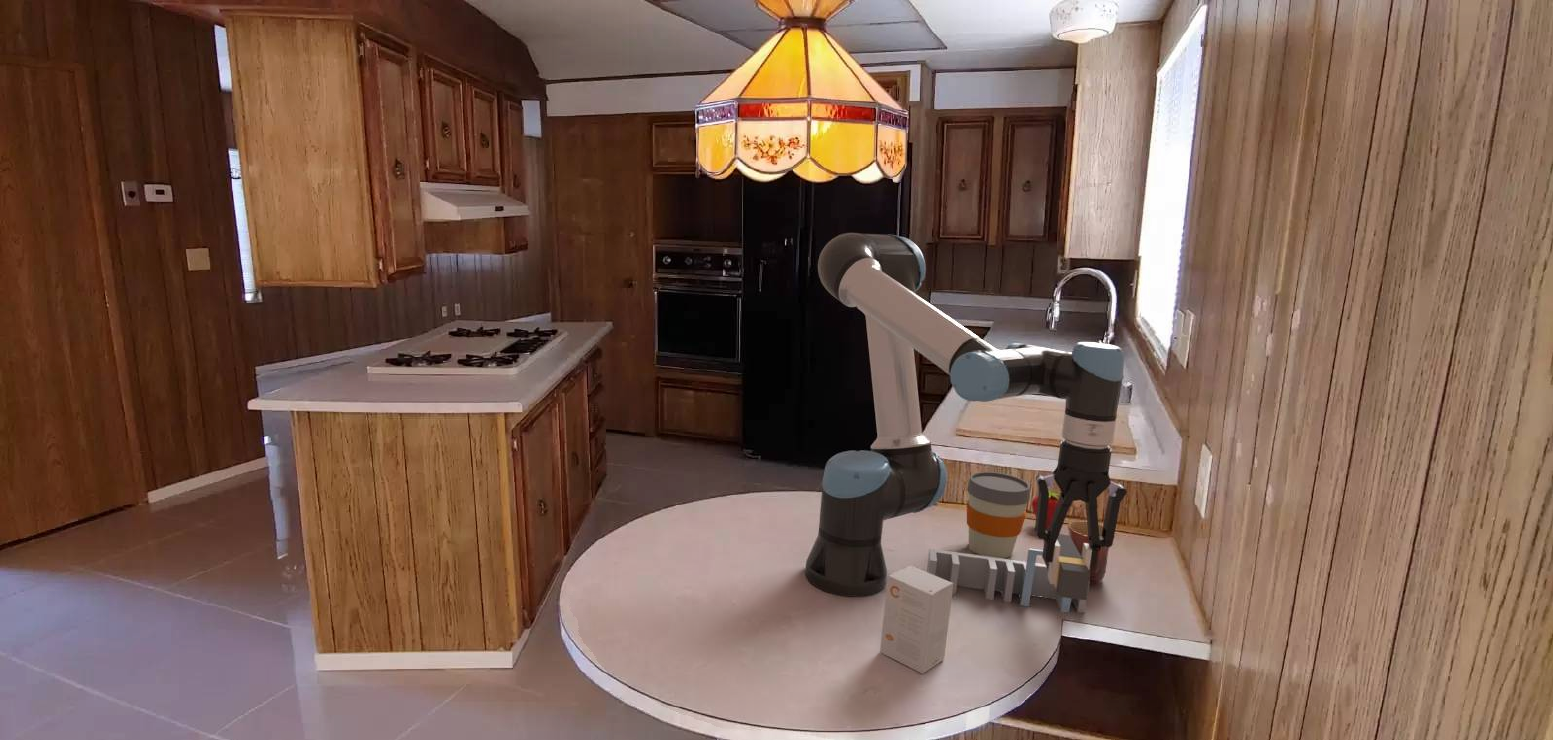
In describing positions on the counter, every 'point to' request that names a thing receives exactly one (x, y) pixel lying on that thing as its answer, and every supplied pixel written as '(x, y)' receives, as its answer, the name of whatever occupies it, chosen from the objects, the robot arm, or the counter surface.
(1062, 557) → the grey banded bar
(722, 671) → the counter surface
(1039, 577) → the grey slotted rack
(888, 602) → the small box
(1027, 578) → the blue bezel
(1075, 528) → the mug
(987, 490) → the reusable coffee cup
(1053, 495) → the strawberry
